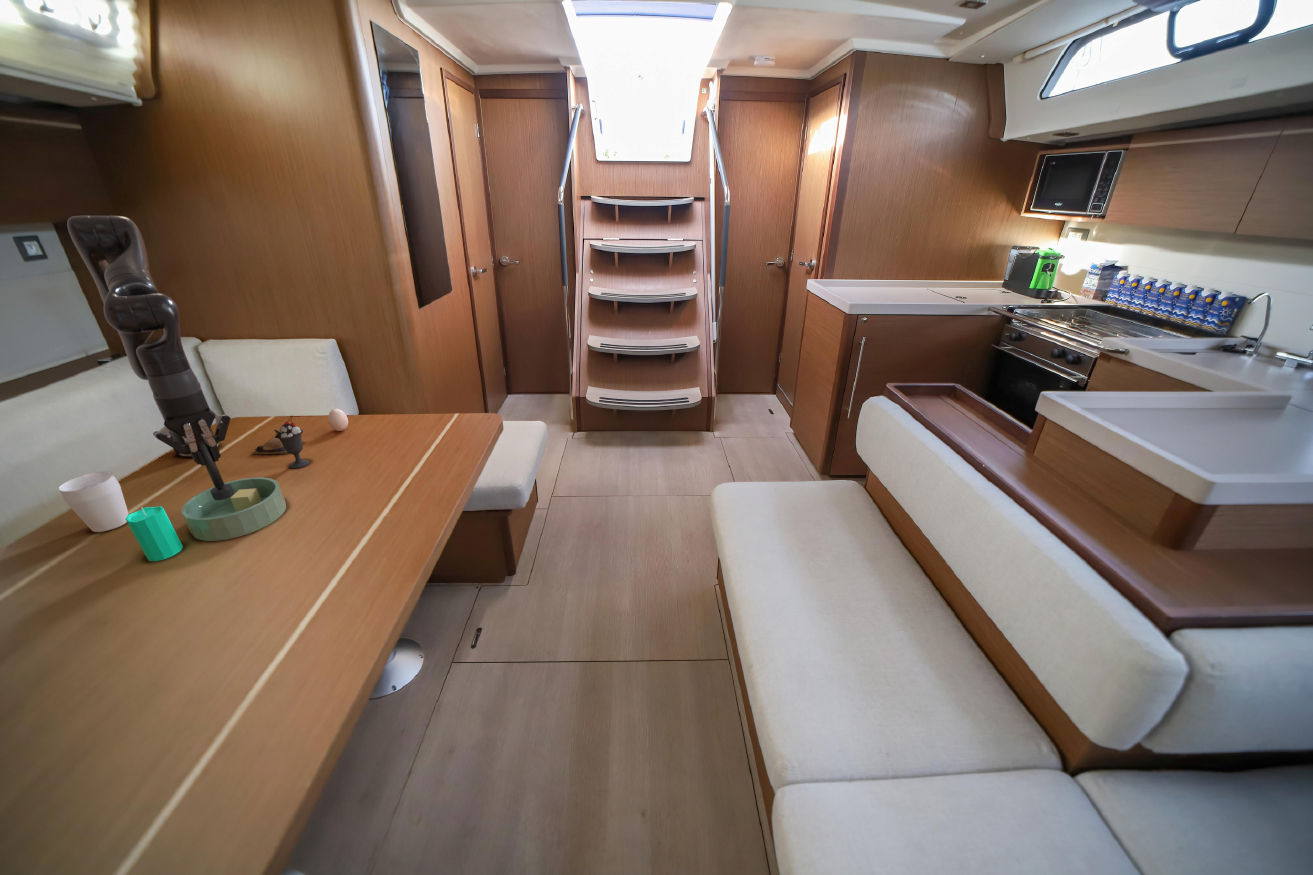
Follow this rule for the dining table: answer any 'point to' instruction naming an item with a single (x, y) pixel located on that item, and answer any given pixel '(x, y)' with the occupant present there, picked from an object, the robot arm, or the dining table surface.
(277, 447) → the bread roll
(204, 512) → the bowl
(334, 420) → the egg
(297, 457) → the sundae
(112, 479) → the cup
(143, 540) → the candle
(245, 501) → the block
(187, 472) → the dining table surface
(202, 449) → the dark grey plunger
